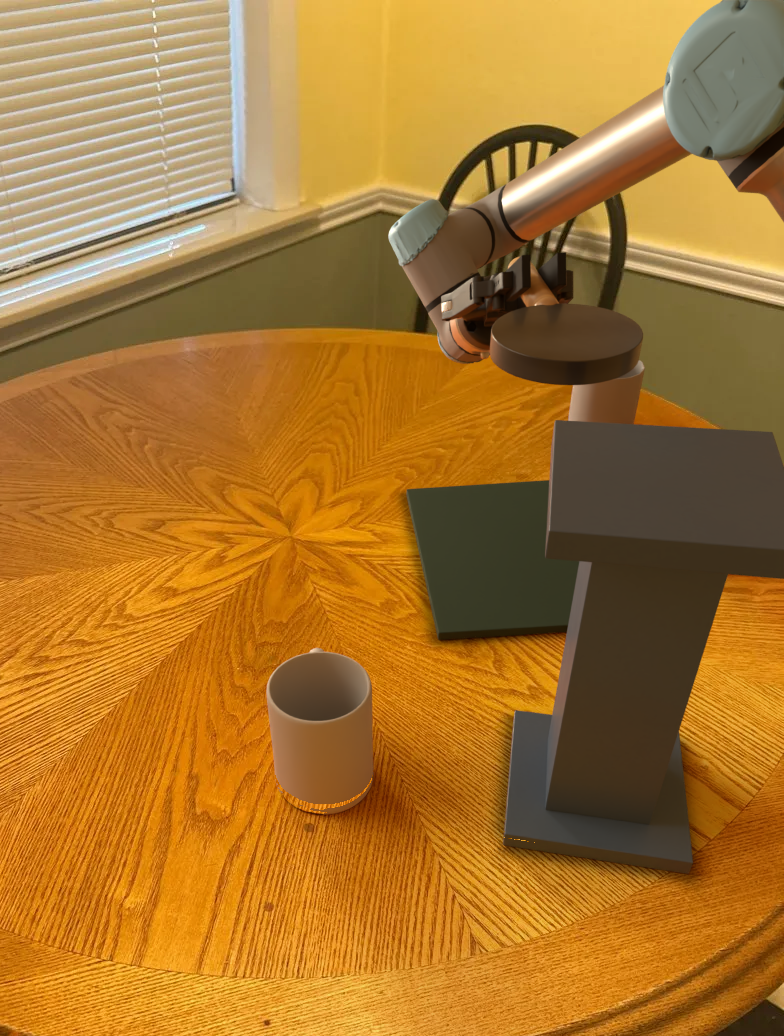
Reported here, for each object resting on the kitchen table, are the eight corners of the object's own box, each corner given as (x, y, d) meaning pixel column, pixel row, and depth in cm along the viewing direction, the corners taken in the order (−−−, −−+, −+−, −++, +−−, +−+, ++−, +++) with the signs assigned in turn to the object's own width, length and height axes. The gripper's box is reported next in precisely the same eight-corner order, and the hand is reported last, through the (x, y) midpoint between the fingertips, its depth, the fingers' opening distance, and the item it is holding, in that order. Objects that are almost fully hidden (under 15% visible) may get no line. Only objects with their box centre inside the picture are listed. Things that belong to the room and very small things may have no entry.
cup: (618, 456, 116) (632, 384, 110) (557, 442, 120) (567, 371, 113) (638, 429, 121) (652, 358, 115) (579, 416, 125) (590, 347, 118)
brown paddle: (659, 380, 69) (665, 350, 68) (505, 390, 69) (508, 361, 68) (577, 274, 88) (580, 248, 86) (455, 282, 88) (456, 257, 86)
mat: (406, 495, 112) (406, 488, 111) (549, 486, 111) (550, 479, 111) (438, 640, 90) (438, 632, 90) (615, 629, 90) (617, 622, 89)
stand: (675, 741, 78) (773, 431, 59) (689, 874, 68) (812, 552, 49) (513, 721, 81) (554, 419, 62) (502, 845, 71) (548, 530, 52)
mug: (378, 812, 74) (377, 720, 67) (276, 819, 74) (265, 727, 67) (365, 710, 83) (364, 620, 76) (274, 716, 83) (264, 626, 76)
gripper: (557, 346, 102) (632, 309, 79) (422, 354, 102) (457, 320, 79) (557, 276, 100) (632, 218, 77) (419, 285, 100) (454, 230, 77)
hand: (544, 270), depth 78 cm, fingers closed on brown paddle, 2 cm apart
